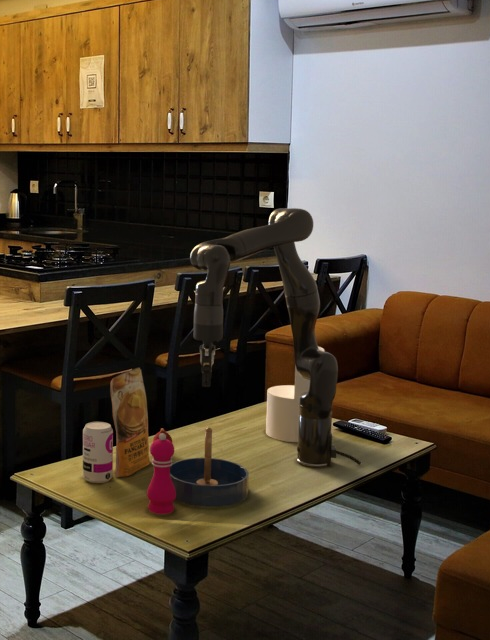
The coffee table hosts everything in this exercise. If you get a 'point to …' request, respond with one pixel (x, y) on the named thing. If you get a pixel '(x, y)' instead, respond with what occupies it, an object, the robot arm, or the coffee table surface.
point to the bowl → (223, 494)
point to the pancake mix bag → (130, 422)
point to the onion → (164, 433)
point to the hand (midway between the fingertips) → (206, 382)
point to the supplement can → (97, 452)
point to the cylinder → (285, 409)
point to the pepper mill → (161, 477)
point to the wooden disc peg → (207, 460)
